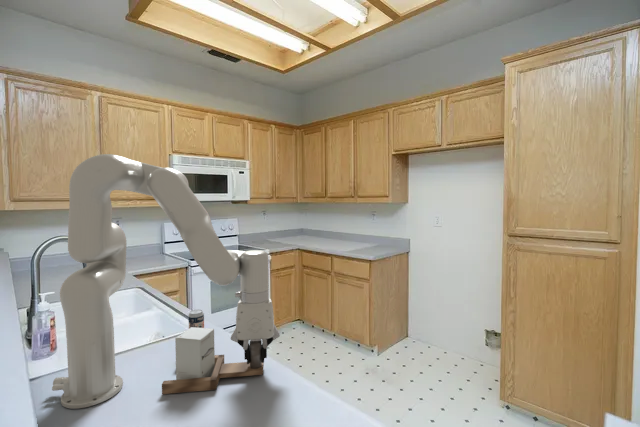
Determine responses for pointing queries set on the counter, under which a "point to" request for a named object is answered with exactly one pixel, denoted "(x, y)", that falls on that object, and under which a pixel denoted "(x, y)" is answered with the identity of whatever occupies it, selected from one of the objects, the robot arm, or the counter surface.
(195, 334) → the supplement box
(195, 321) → the beer can
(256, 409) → the counter surface
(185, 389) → the wooden cross board
